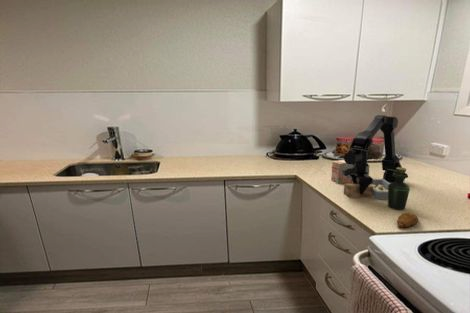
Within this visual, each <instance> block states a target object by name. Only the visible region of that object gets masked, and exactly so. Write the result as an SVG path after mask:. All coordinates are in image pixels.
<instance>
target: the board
mask: <svg viewBox="0 0 470 313" xmlns="http://www.w3.org/2000/svg"><path fill="white" fill-rule="evenodd" d="M343 186H344V187H343V195H345V196H346V197H347V198H372V197H373V196H372V192H373V186H371V185H369V186H368V187H367V189H366V190H365V191H364V193H363V194H360V190H359V184H353V183H343Z"/></svg>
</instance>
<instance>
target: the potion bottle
mask: <svg viewBox="0 0 470 313" xmlns="http://www.w3.org/2000/svg"><path fill="white" fill-rule="evenodd" d="M406 171H407V168H405V167H402V168H401V167H397V168H396V172H394V173H393V176H394V177H395V180H396V182H392V183H390V184H389V185H388V199H387V206H388V207H389V208H390V209H392V210H396V211H403V210H405V209H406V207H407V206H406V205H407V202H408V197H409V195H410V190H411V189H410V186H409V185H408V184H407V183H405V179H408V178H409V175H408V174H407V172H406Z"/></svg>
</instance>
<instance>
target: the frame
mask: <svg viewBox="0 0 470 313" xmlns="http://www.w3.org/2000/svg"><path fill="white" fill-rule="evenodd" d="M372 179H373V183H371V184H370V185H371V186H373V192H372V197H373V198H374V199H375V200H388V185H389V184H390V183H389V182H387V181H386V180H384V179H383V178H372ZM376 187H377V188H376ZM383 188H384V189H385V190H384V189H383Z"/></svg>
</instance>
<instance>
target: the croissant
mask: <svg viewBox="0 0 470 313" xmlns="http://www.w3.org/2000/svg"><path fill="white" fill-rule="evenodd" d="M419 221H420V219H419V218H418V215H417V214H414V213H411V212H402V213H401V214H400V215H398V217H397V220H396V226H397V228H399V229H401V230H402V229H403V230H405V229H409V228H411V227H414V226H415V225H418V224H419Z"/></svg>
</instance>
